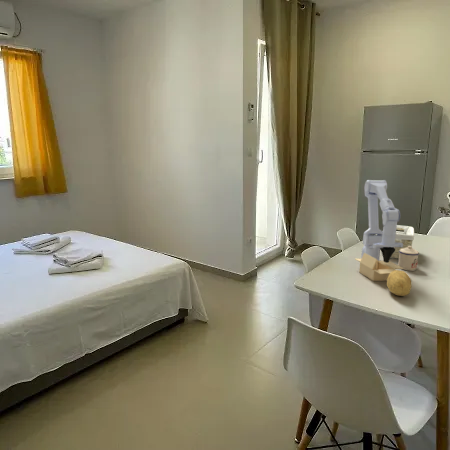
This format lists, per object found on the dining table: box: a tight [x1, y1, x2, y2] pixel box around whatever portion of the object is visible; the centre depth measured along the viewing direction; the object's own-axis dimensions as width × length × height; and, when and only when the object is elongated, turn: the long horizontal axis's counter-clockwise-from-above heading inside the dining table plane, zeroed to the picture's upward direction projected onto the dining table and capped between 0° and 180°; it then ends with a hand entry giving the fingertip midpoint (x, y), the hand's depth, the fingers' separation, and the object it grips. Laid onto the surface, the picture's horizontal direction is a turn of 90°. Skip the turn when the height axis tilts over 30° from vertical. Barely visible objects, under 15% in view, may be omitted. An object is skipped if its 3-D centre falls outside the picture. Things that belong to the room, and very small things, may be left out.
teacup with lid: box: [397, 245, 420, 271], centre depth 187 cm, size 12×9×12 cm
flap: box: [359, 253, 377, 269], centre depth 173 cm, size 10×5×1 cm
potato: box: [386, 269, 413, 297], centre depth 153 cm, size 10×14×10 cm
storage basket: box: [381, 224, 415, 260], centre depth 211 cm, size 24×16×15 cm
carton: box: [354, 257, 403, 282], centre depth 175 cm, size 22×15×8 cm
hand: (386, 262), depth 175 cm, fingers closed
